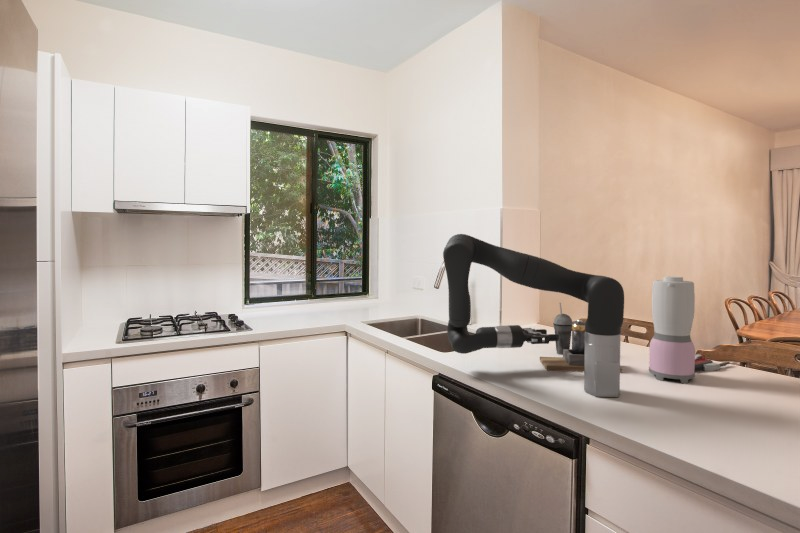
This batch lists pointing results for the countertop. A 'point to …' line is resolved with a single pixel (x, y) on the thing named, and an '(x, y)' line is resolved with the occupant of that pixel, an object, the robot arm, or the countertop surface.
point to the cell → (578, 337)
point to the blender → (672, 329)
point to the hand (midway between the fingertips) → (552, 334)
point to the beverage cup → (562, 331)
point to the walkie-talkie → (706, 364)
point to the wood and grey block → (565, 362)
